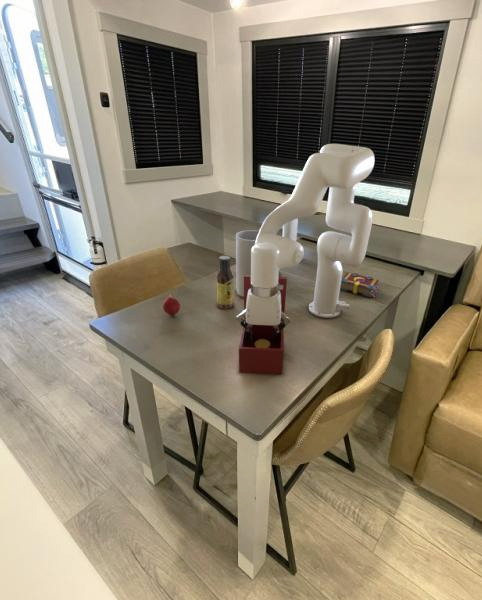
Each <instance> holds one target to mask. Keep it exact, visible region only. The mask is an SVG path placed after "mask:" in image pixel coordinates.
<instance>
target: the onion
mask: <svg viewBox="0 0 482 600" xmlns="http://www.w3.org/2000/svg"><path fill="white" fill-rule="evenodd" d="M162 309H163V312H165V313H166V314H167V315H170V316H174V315H177V313H179V311H180V309H181V303H180V302H179V300H178V299H177V298H175V297H173V296H172V295H171V294H169V295H168V297H167V298H166V299H165V300H164V302H163V304H162Z"/></svg>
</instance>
